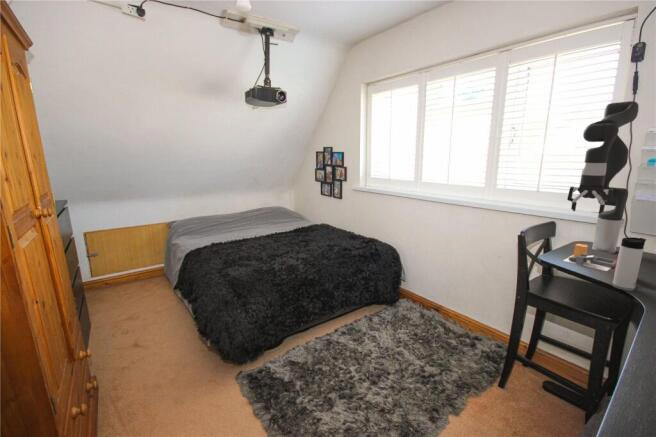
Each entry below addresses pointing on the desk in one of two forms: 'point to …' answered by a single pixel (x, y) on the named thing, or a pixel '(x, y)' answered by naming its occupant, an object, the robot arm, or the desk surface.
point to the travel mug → (628, 263)
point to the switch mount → (581, 259)
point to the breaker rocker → (582, 256)
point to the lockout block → (580, 249)
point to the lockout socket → (604, 262)
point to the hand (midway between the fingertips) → (586, 212)
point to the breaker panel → (590, 264)
